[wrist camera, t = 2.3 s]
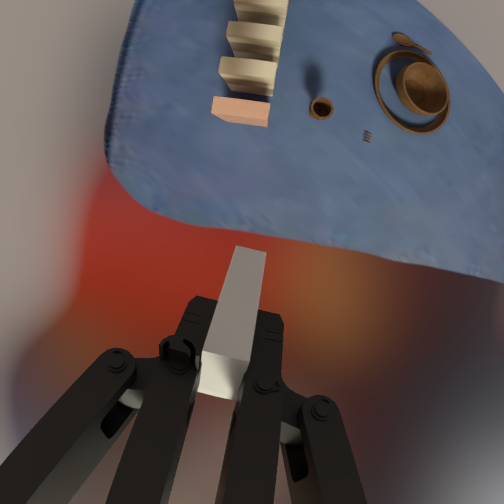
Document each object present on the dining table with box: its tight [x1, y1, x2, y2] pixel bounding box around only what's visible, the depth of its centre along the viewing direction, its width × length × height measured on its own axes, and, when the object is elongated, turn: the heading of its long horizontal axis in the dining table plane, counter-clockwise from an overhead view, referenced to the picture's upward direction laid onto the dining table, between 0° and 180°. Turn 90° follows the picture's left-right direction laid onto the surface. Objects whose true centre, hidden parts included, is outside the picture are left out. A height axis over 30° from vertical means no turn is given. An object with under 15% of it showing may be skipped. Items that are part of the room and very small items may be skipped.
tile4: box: [233, 0, 288, 39], centre depth 23 cm, size 5×2×10 cm, turn 81°
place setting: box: [309, 33, 450, 143], centre depth 27 cm, size 18×20×6 cm
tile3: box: [226, 21, 283, 68], centre depth 24 cm, size 5×2×10 cm, turn 81°
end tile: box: [211, 96, 270, 127], centre depth 27 cm, size 5×2×10 cm, turn 81°
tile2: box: [218, 56, 277, 97], centre depth 26 cm, size 5×2×10 cm, turn 81°
